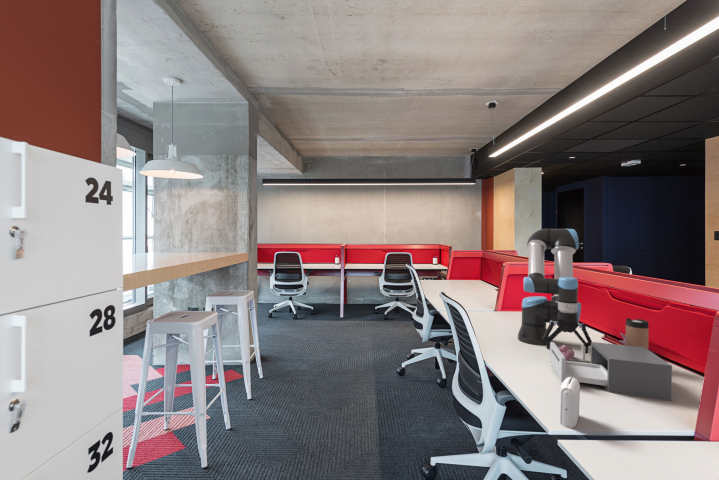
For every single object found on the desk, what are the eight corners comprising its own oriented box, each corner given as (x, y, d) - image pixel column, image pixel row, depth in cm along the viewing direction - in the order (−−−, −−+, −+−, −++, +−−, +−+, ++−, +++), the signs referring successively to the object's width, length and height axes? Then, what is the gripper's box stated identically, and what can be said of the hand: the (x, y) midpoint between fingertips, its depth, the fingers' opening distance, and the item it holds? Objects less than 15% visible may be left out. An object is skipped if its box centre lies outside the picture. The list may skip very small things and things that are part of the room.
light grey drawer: (560, 381, 125) (560, 357, 125) (549, 362, 144) (549, 341, 143) (619, 389, 119) (620, 364, 118) (600, 368, 138) (600, 347, 137)
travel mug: (642, 371, 138) (643, 323, 138) (621, 365, 145) (622, 319, 145) (651, 368, 142) (652, 321, 141) (630, 362, 149) (631, 317, 148)
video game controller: (570, 366, 147) (578, 352, 146) (560, 361, 148) (568, 347, 147) (561, 358, 157) (569, 345, 156) (552, 353, 158) (559, 340, 157)
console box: (608, 391, 120) (609, 358, 120) (590, 370, 139) (591, 341, 138) (671, 400, 114) (672, 365, 114) (643, 377, 133) (644, 347, 133)
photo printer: (575, 430, 96) (576, 387, 96) (558, 424, 99) (559, 383, 98) (580, 415, 104) (581, 376, 104) (564, 410, 107) (565, 372, 106)
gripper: (538, 310, 152) (537, 357, 152) (602, 315, 144) (601, 365, 144) (535, 307, 159) (535, 352, 159) (596, 312, 151) (595, 359, 151)
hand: (566, 358), depth 152 cm, fingers open, 12 cm apart
